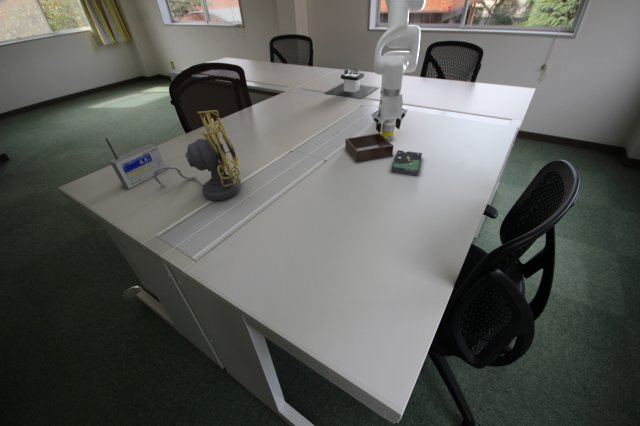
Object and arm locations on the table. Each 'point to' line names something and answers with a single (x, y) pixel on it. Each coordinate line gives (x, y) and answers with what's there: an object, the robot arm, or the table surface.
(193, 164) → the electric fan
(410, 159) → the disk drive
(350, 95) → the black-topped pedestal
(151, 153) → the electronic device
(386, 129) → the supplement bottle
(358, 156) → the desk caddy
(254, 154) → the table surface
